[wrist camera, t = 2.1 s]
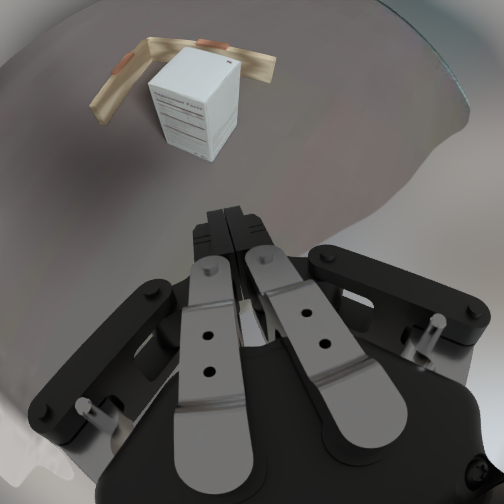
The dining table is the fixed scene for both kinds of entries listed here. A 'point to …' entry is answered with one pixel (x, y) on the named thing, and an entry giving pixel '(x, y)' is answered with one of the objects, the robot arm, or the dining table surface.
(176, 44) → the wooden corner bracket
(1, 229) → the dining table surface
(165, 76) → the supplement box
